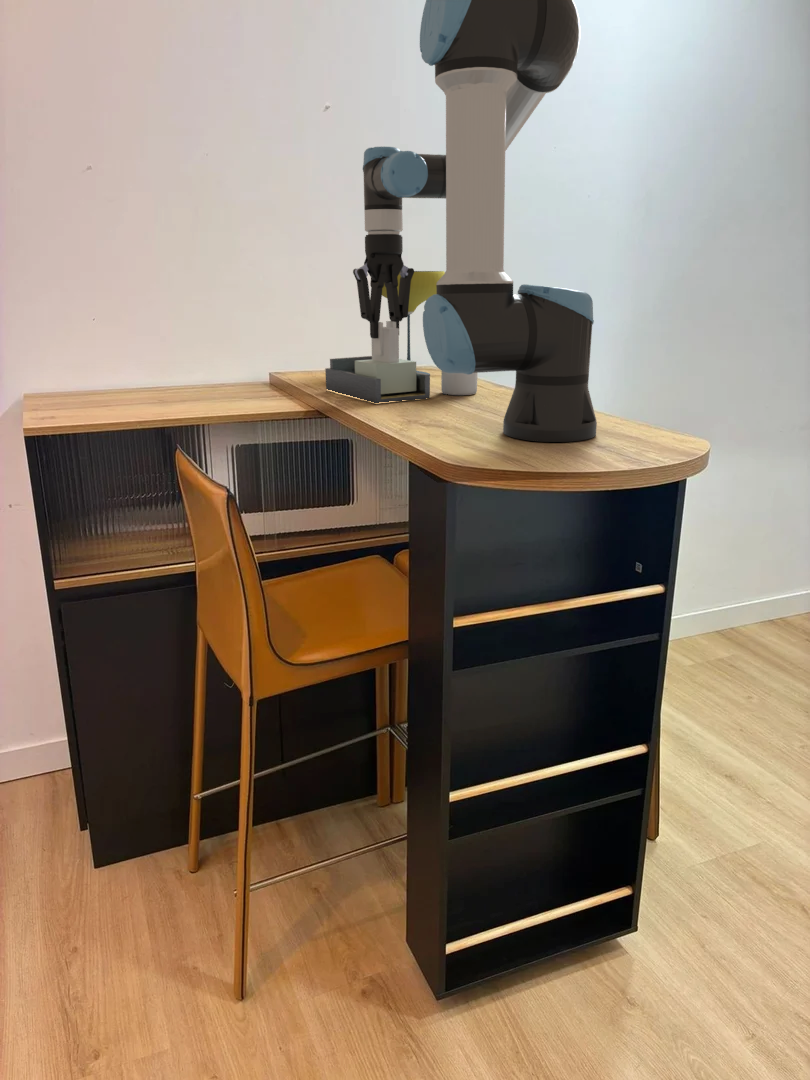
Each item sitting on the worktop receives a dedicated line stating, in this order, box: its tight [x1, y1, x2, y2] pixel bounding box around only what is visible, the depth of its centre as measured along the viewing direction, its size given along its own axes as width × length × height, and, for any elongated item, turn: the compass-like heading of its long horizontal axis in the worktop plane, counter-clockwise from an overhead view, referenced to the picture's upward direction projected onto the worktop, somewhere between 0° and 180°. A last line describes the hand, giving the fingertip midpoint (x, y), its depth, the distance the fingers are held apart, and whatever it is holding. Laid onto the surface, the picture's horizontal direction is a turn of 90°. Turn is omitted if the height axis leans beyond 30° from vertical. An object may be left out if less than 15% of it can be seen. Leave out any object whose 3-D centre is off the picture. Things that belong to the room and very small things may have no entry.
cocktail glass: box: [382, 270, 446, 376], centre depth 204 cm, size 18×18×25 cm
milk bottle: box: [440, 370, 478, 396], centre depth 175 cm, size 8×8×20 cm
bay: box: [324, 355, 431, 403], centre depth 176 cm, size 22×13×7 cm, turn 32°
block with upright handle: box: [355, 326, 417, 394], centre depth 171 cm, size 9×10×13 cm
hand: (385, 353), depth 171 cm, fingers closed on block with upright handle, 2 cm apart
